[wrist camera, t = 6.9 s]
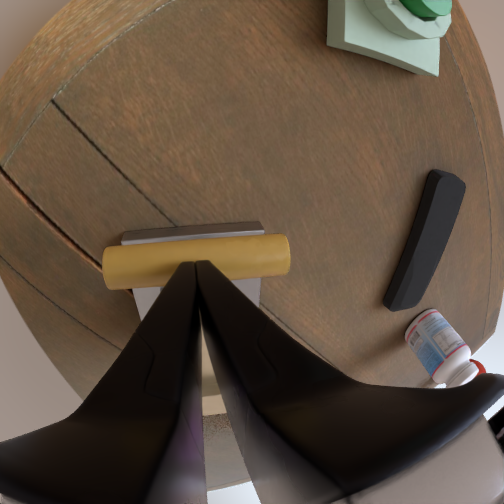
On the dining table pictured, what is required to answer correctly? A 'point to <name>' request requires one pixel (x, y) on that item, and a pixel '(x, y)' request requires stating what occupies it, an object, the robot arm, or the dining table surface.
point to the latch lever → (213, 249)
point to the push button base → (387, 33)
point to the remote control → (426, 240)
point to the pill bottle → (440, 349)
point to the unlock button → (428, 7)
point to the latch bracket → (149, 295)
